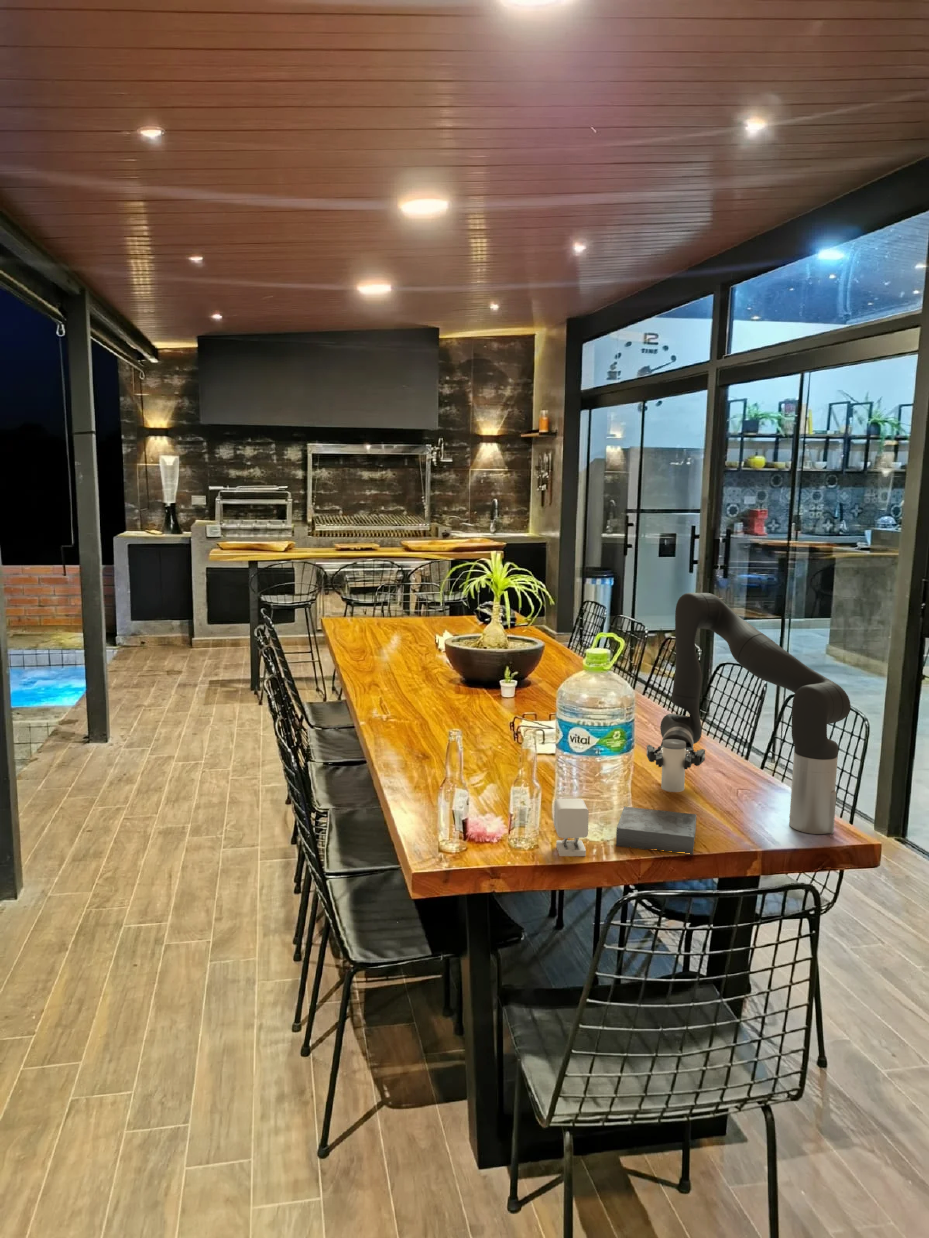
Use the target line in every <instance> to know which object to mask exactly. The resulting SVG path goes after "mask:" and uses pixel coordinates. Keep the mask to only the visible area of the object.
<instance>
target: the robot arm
mask: <svg viewBox="0 0 929 1238" xmlns="http://www.w3.org/2000/svg"><path fill="white" fill-rule="evenodd" d="M675 605H676V606H675V613H674V614H675V615H674V625H675V626H674V628H675V632H674V633H675V638H674V639H675V670H674V671H675V672H674V680H673V685H672V693H671V702H672V704H673V705H674V706H676V707H679V708H681V709H683V710H685V711H687V713H688V715H689V716H688V715H681V714H675V713H667V714H666V715H664V716H663V717H662V719H661V721H660V730H659V731H660V735H661V737H662V741H661V744H660V745H659V746H658V747H657V748H655V746H653V745H651V744H647V745H646V757H647V759H648V761H649V762H650V763H655V765H656V766H658V768H662V748H663V740H666V739H678V740H682V741H685V742H686V755H685V762H684V769H685V770H688V768H691V767H692V765H693V766H697V767H699V766H700V765H702V763H704V762H705V761H706V760H705V759H706V750H705V749H704V748H701V749H699V750H698V749H697V750H694V745H696V743H698V742H699V741H700V740H701V738H702V735H703V733H702V732H703V730H702V723H701V717H700V715H701V714H700V699H701V698H700V697H701V690H702V683H703V674H702V668H701V664H700V662H699V658H698V655H697V650H696V636H697V631H698V630H699V629H703V630H710V631H711V632H713V633H714V634H716V635H718V636H719V637H720V638H722V639H723V640H724V641H725V642H726V643H727V646H728V649H729V650H730V653H731V655H732V657H733V659H734V660H735V661H736V662H737V663H738V664H739V665H740V666H741V667H743V668H744V669H745V670H746V671H748V672H749V673H750V674H751V675H753V676H755V677H756V678H758V679H760V680H762V681H765V682H767V683H770V684H773V685H774V686H775V685H776V686H777V687H780V688H783V689H786V690H788V691H791V692H792V693H794V695H793V698H792V703H791V738H792V739H791V740H792V742H793V747H794V750H793V761H792V762H793V763H792V778H791V791H790V792H791V793H790V803H789V804H790V805H789V806H790V808H789V817H788V818H789V820H788V822H789V823H788V825H789V826H790V827H791V828H792V829H793V830H796V831H798V832H802V833H806V834H813V835H825V834H834V831H835V830H834V829H835V821H836V820H835V818H836V817H835V816H836V805H837V791H836V787H837V774H838V773H837V772H838V770H837V769H838V757H839V745H838V743H837V742H836V741H835V740H832V739H830V738H828V725H830V724H836V723H838V722H841V721H844V719H846V718H847V717H848V716H849V714H850V712H851V707H852V705H851V701H850V697H849V696H848V693H846V691H845V690H844V689H843V687H842V686H840V685H839V684H837V683H836V682H835V681H832V680H831V679H829V678H827V677H825V676H824V675H822V674H821V673H818V672H817V671H815V670H814V669H812V668H810V667H809V666H808V665H805V664H804V663H803V662H802V661H801V660H799V659H798V658H796V657H795V656H794V655H792V653H789V651H787V650H785V649H784V648H783V647H781V646H780V645H779V644H778V643H777V642H775V641H774V640H773V639H771V638H770V637H769V636H767V635H766V634H764V633H763V632H761V631H760V630H758V629H757V628H756V627H754V626H753V625H751V624H750V623H749V622H747V621H745V619H743V618H742V617H740V616H739V615H738V614H737V613H736V612H735V611H734V610H732V608H731V607H729V605H727V604H726V603H725V602H724V601H723V600H722V599H721V597H718V596H717V595H716V594H713V593H709V592H686V593H684V594H682V595H681V596H680V597H679V598H678V599H677V602H676V604H675Z"/></svg>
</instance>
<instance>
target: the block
mask: <svg viewBox="0 0 929 1238" xmlns="http://www.w3.org/2000/svg"><path fill="white" fill-rule="evenodd" d="M696 831H697V814H696V813H686V812H679V811H678V812H677V811H669V810H668V811H667V810H661V809H660V810H659V809H649V808H640V807H634V806H633V807H631V806H623V807H622V812H621V814H620V817H619V821H618V824H617V826H616V838H615V847H623V848H629V847H631V849H637V848H639V849H638V850H646V849H657V850H664V851H672V852H685V853H690V854H693V855H694V850H693V849H694V848H695V841H696V840H695V839H696ZM694 840H695V841H694Z"/></svg>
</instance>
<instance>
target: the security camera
mask: <svg viewBox="0 0 929 1238" xmlns="http://www.w3.org/2000/svg"><path fill="white" fill-rule="evenodd" d="M553 808H554V811H553V813H554V814H553V825H554V828H555V831H556V834H557V837H559V838H561V839H563V840H560V839H559V840H558V839H557V840H556V845H555V847H556V850H557V852H558V855H559V857H586V855H587V850H586V847H585V845H584V843H583V840H580V839H581V838H582V839H584V838H587V837H588V834H589V819H590V817H589V816H590V815H589V813H590V812H589V809H588V807H587V805H586V802H585V800H584V799H582V798H556V799H555V800H554V806H553ZM568 839H571V840H568ZM573 839H574V840H573Z"/></svg>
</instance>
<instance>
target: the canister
mask: <svg viewBox="0 0 929 1238" xmlns="http://www.w3.org/2000/svg"><path fill="white" fill-rule="evenodd" d="M662 740H663V739H662ZM685 755H686V742H685V741H682V740H678V739H666V740H663V748H662V767H661V781H660V782H661V783H660V785H661V787H660V788H661V790H663V791H665V792H670V793H679V792H683V791H685V779H686V775H685V774H686V769H684V762H685Z"/></svg>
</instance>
